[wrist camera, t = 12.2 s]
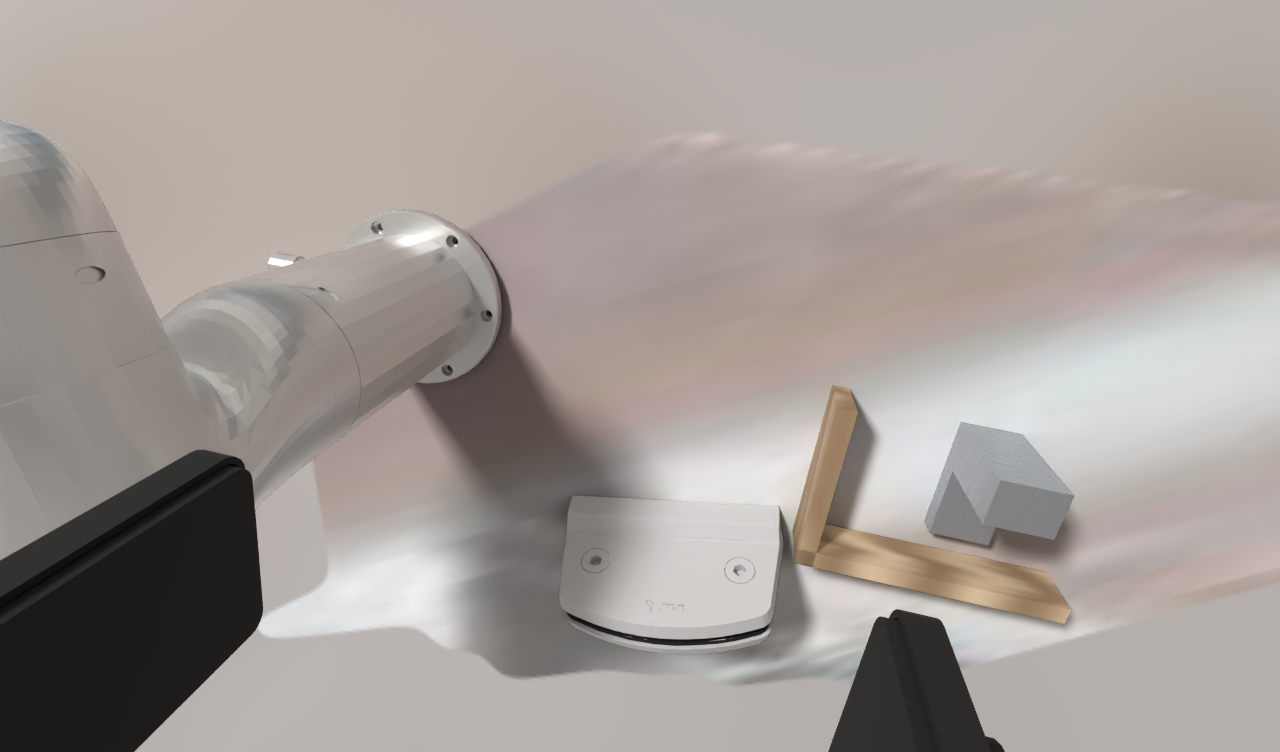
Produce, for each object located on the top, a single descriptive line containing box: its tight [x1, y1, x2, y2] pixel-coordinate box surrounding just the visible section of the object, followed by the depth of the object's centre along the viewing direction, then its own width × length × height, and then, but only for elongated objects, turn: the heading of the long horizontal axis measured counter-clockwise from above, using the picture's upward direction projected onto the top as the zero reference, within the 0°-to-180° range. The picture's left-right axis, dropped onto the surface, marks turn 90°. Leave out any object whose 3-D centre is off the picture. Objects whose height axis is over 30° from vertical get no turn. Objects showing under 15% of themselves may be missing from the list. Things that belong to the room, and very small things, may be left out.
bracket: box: [925, 422, 1075, 545], centre depth 42 cm, size 8×4×8 cm, turn 171°
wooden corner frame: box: [793, 386, 1071, 624], centre depth 45 cm, size 18×12×4 cm, turn 82°
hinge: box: [559, 495, 784, 654], centre depth 48 cm, size 17×5×10 cm, turn 93°
